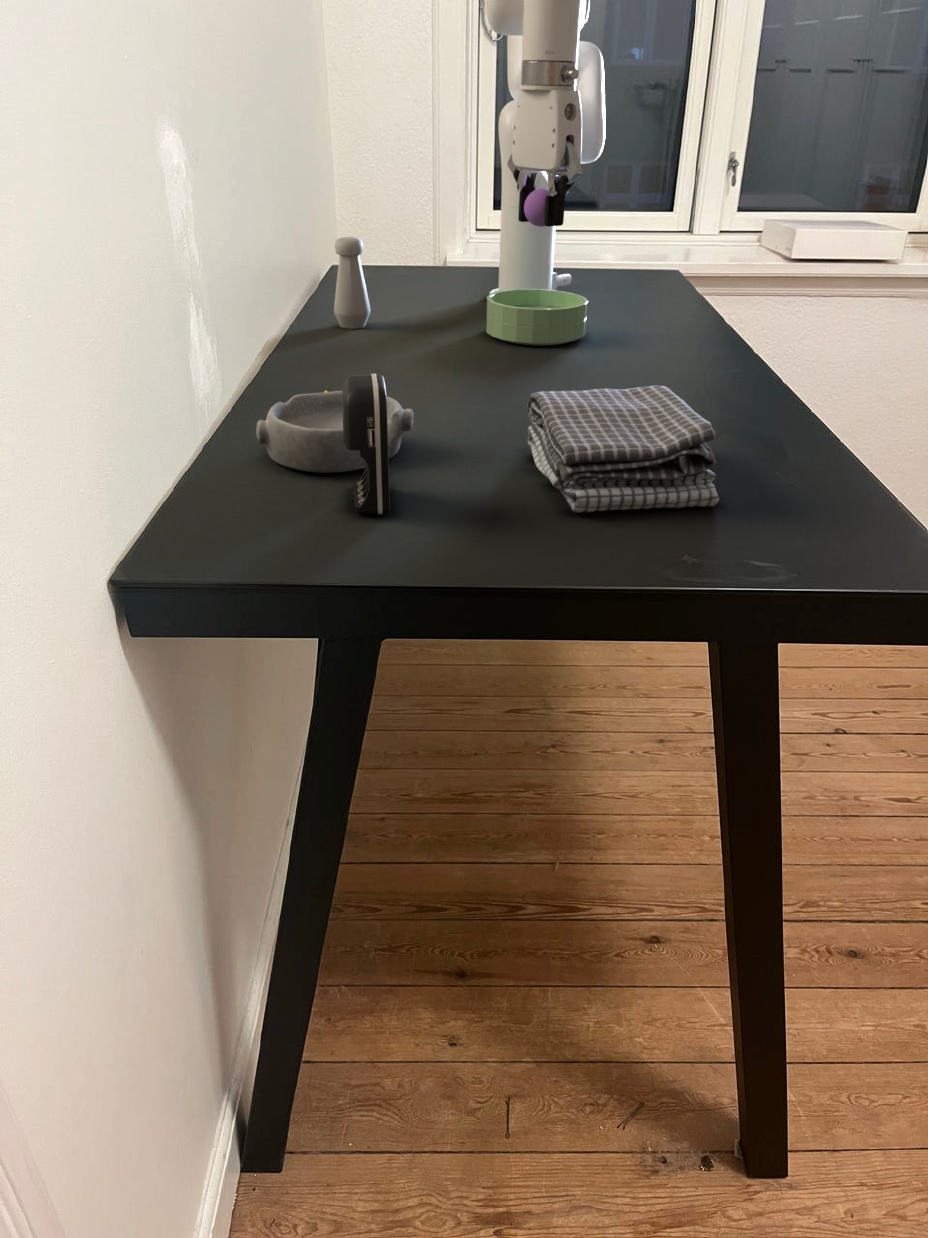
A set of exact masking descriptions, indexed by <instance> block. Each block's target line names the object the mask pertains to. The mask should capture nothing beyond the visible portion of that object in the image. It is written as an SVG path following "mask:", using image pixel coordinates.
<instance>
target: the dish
mask: <svg viewBox="0 0 928 1238" xmlns="http://www.w3.org/2000/svg"><path fill="white" fill-rule="evenodd" d="M387 419H388V455H389V459H391V458H393V457H394V456H396V454H397V453H398V452H399V450H400V447H401V443H402V438H403V435H404V432H410V431H412V429H413V426H414V410H413V409H412V408H405V409H404V408H403V407H402V406H401V404H400V402H399V401H397V400H396V399H394V398H392V397H390V396H388V395H387ZM255 433H256V435H255V436H256V439H257V441H258V443H259V444H264V445H266V452H267V453H268V456H269V457H270V459H271V460H272V461H274V462H275V463H277V464H278V465H280V466H283V467H286V468H288V469H293V470H298V471H301V472H309V473H324V474H325V473H329V474H330V473H345V472H351V471H357V470H362V469H365V468H366V464H367V463H366V461H365V460H364V459H363V458H362V457H361V456H360V451H358V450H349V449H347V448H346V445H345V444H344V440H343V390H336V391H335V390H334V391H327V392H325V391H323V392H322V391H321V392H314V393H313V392H311V393H302V394H301V393H300V394H295V395H293V396H292V397H290V399H289V400H287V401H285V402H282V401H278V402H276V403H275V404H274V405H272V406H271V407H269V410H268V413H267V415H266V419H265V420H264V419H259V420H258V421H257V422H256V430H255Z"/></svg>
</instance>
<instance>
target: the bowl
mask: <svg viewBox="0 0 928 1238" xmlns="http://www.w3.org/2000/svg"><path fill="white" fill-rule="evenodd" d="M588 306H589V300H588V299H587V297H585V296H583V295H581V294H577V293H574V292H570V291H563V290H557V289H556V290H546V289H513V290H505V291H498V292H495V293H491V294H490V293H489V294H488V295H487V296H486V311H485V315H486V316H485V331H486V334H488V335H489V336H490V337H492V338H496V339H499V340H501V341H504V342H506V343H509V344H511V343H512V344H516V345H523V346H556V345H563V344H567V343H570V342H574V341H577V340H579V339H582V338H584V336H585V335H586V330H587V319H588V318H587V317H588Z"/></svg>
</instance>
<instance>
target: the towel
mask: <svg viewBox="0 0 928 1238" xmlns="http://www.w3.org/2000/svg"><path fill="white" fill-rule="evenodd" d="M526 410H527V413H528V415H527V419H528V421H529V424H530V425H529V426H528V427H527V429H526V430H527V437H526V438H527V439H526V443H527V445H528V447H529V448H530V451H531V454H532V457H533V461H534V464H535V466H536V468H537V470H538V471H539V472H540V473H541V474H542V475H543V476H544V477H546V478H547V479H548V480H549V482H550V483H551V485H552V486H553V487H554V488H555V489H557V490H559V491H560V492H561V495H563V497H564V499H565V500H566V502H567V504H568V506H569V507H570V509H571V511H572V512H573V513H577V514H580V513H593V512H606V511H616V510H617V511H618V510H620V511H627V510H641V509H642V510H650V509H652V508H653V509H661V508H667V509H673V508H675V509H683V508H686V507H688V508H694V507H697V508H698V507H701V508H706V507H715V506H716V505H717V504H718V503H719V501H720V497H719V494H718V492H717V489H716V486H715V485H714V483H713V481H715V479H717V475H716V473H715V472H714V471H712V470H710V469H711V468H713V467H714V466H715V465H716V464H717V460H716V457H715V455H714V451H713V449H712V448H711V447H709V445H708V444H707V443H708V442H711V441H714V440H715V439H717V437H718V432H717V431H716V430H715V429H713V425H712V422H711V421H709V420H707V419H705V417H703V416H702V415H700V414H699V413H698V412H696V411H695V410H694V409H693V408H692V407H691V405H689V404H688V402H686V400H684V399H682V398H681V397H680V396H678V395H677V394H676V393H675V392H673V390H672V389H671V388H670V387H668V386H666V385H658V384H657V385H656V384H652V385H649V386H637V387H629V388H626V389H624V388H617V389H614V388H611V387H610V388H595V389H584V390H560V391H559V390H551V391H547V390H541V391H535V392H532V393H530V394H529V398H528V400H527V404H526Z"/></svg>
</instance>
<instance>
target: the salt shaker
mask: <svg viewBox="0 0 928 1238" xmlns="http://www.w3.org/2000/svg"><path fill="white" fill-rule="evenodd" d="M334 250H335V254H336V255H338V265H337V275H336V283H335V295H334V304H333V314H334V317H335V318H336V320H337V322H338V324H339V326H340V327H341V328H342V329H350V330H351V329H352V330H355V329H363V328H365V326H366V325H367V321H368V319H369V317H370V315H371V310H372V309H371V304H370V299H369V295H368V291H367V285H366V281H365V275H364V271H363V266H362V261H361V257H360V256H361V255H363V253H364V243H363V241H362V239H361V238H358V237H356V236H342V237H338V238H337V239H336V240H335V242H334Z"/></svg>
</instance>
